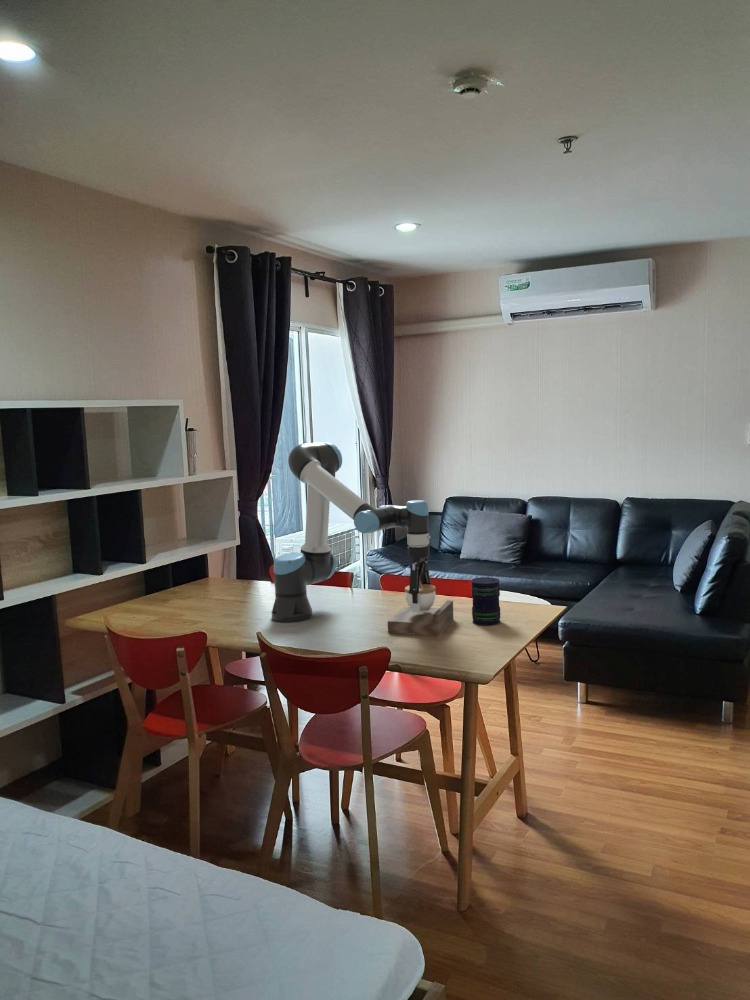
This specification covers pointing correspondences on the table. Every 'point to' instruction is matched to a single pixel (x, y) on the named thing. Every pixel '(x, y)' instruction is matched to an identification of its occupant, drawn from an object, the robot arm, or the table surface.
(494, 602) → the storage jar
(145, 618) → the table surface
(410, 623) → the riser block
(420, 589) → the lidded jar
